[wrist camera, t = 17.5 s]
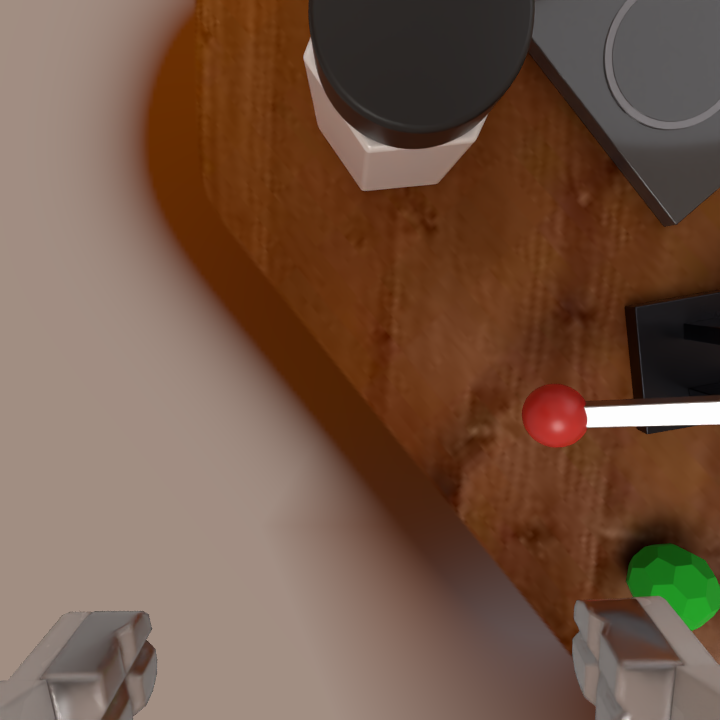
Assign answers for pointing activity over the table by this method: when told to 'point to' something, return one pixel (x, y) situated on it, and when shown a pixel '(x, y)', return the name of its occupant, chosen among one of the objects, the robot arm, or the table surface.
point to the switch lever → (607, 413)
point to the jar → (410, 80)
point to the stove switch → (675, 348)
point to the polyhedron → (676, 582)
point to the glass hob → (642, 89)
